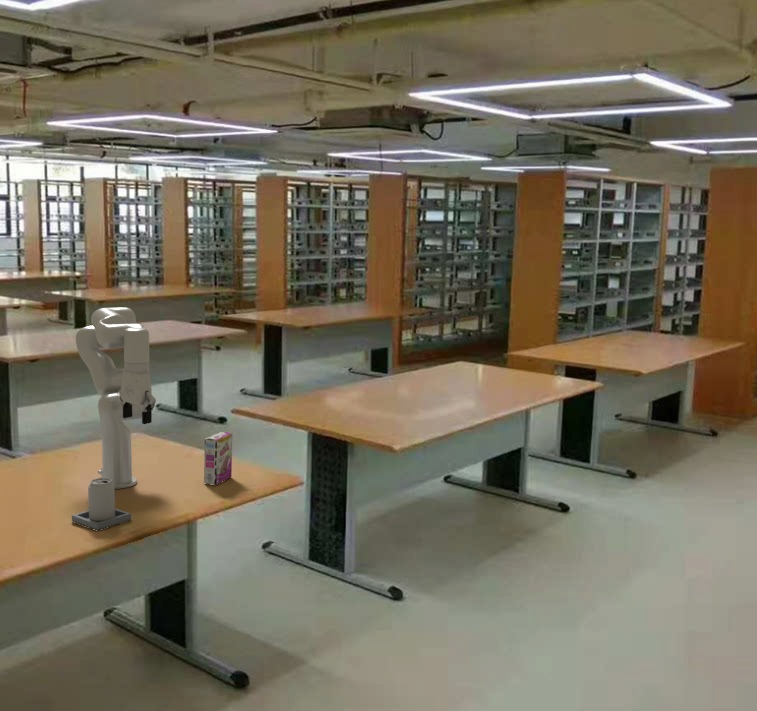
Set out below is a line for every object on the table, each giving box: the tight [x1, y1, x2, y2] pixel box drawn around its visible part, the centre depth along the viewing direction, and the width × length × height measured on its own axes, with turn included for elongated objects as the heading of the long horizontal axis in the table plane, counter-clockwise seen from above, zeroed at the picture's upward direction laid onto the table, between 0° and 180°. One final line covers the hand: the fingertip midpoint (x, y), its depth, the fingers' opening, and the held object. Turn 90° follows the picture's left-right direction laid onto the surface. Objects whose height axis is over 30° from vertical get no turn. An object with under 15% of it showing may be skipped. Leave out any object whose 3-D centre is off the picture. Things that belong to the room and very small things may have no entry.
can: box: [87, 477, 116, 522], centre depth 249 cm, size 8×8×12 cm
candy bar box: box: [203, 431, 233, 486], centre depth 290 cm, size 11×5×16 cm, turn 161°
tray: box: [71, 507, 132, 532], centre depth 249 cm, size 12×12×2 cm
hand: (137, 420), depth 263 cm, fingers open, 9 cm apart
